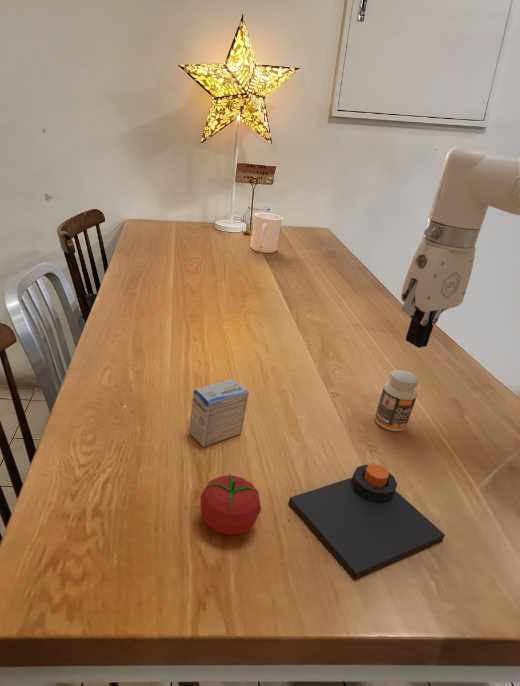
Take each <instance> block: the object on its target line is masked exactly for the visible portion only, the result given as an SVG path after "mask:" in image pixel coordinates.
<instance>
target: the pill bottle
mask: <svg viewBox="0 0 520 686" xmlns="http://www.w3.org/2000/svg"><path fill="white" fill-rule="evenodd" d="M388 379H389V380H388V381H386V383H384V385H383V388H382V391H381V394H380V397H379V401H378V404H377V408H376V411H375V415H374V421H375V423H376V424H377V425H378V426H380V427H381V428H383V429H384V430H387V431H390V432H402V431H404V430H405V429H406V428H407V426H408V423H409V420H410V417H411V414H412V412H413V409H414V406H415V403H416V399H417V397H418V392H417V389H416V388H417V387H418V383H419V378H418V377H417V376H416V375H415V374H414V373H412V372H409V371H407V370H403V369H394V370H392V371H391V372H390V374H389V378H388Z"/></svg>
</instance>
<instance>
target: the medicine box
mask: <svg viewBox="0 0 520 686" xmlns="http://www.w3.org/2000/svg"><path fill="white" fill-rule="evenodd" d="M249 394H250V392H249V390H247V389H246V388H245V387H244V386H243V385H242V384H240V383H239V382H238V381H237V380H235V379H234V378H230V379H227V380H223V381H220V382H216V383H213V384H208V385H206V386H202V387H199V388H196V389H193V394H192V402H191V411H190V420H189V429H188V433H189V435H190V436H192V437H193V439H194V440H195V441H196V442H197V443H198V444H199V445H200V446H201V447H202V448H205V447H208V446H211V445H213V444H216V443H219V442H222V441H224V440H227V439H230V438H232V437H235V436H238V435H241V434H242V433H243V428H244V422H245V421H244V420H245V416H246V410H247V405H248V400H249Z"/></svg>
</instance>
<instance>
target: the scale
mask: <svg viewBox="0 0 520 686" xmlns="http://www.w3.org/2000/svg"><path fill="white" fill-rule="evenodd" d="M369 465H370V464H363V465H359V466H356V468H355V470H354V471H353V474H352V477H349V478H346V479H342V480H340V481H336V482H333V483H331V484H327V485H324V486H321V487H318V488H314V489H312V490H309V491H306V492H303V493H299V494H296V495H293V496H290V497H289V499H288V505H289V506H290V507H291V509H292V510H293V511H294V513H295V514H297V515H298V517H299V518H300V519H301V520H302V521H303V523H304V524H305V525H306V526H307V527H308V528H309V529H310V531H311V532H312V533H313V534H314V535H315V536H316V537H317V539H318V540H319V541H320V542H321V543H322V545H323V546H324V547H325V549H327V551H328V552H329V553H330V554H331V555H332V556H333V557H334V558H335V560H336V561H337V562H338V563H339V564H340V566H342V568H343V569H344V570H345V571H346V572H347V574H348V575H349V576H350V577H351V578H352V579H353V580H354V581H355V580H358V579H360V578H362V577H364V576H367V575H369V574H371V573H374V572H376V571H378V570H380V569H383V568H385V567H387V566H390V565H391V564H394V563H396V562H398V561H401V560H402V559H406V558H407V557H410V556H412V555H414V554H416V553H419V552H421V551H422V550H425V549H428V548H430V547H432V546H434V545H437V544H438V543H439V544H440V543H441V542H443V541H444V539H445V536H446V534H445V533H444V532H443V531H441V529H439V528H438V527H437V526H436V525H435V524H434V523H433V522H431V521H430V520H429V519H428V518H427V517H426V516H425V515H424V514H422V513H421V511H419V510H418V508H416V507H415V506H413V504H411V503H410V502H409V501H408V500H407V499H406V498H404V496H403V495H401V494H400V493H399V492H398V491H397V487H398V483H397V480H396V478H395V476H394V475H393V474H391V473H390V472H389V476H388V479H387V482H386V485H385V486H384V487H374V486H372V485H370V484H368V483H367V482H366V481H365V480H364V475H365V472H366V469H367V466H369Z"/></svg>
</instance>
